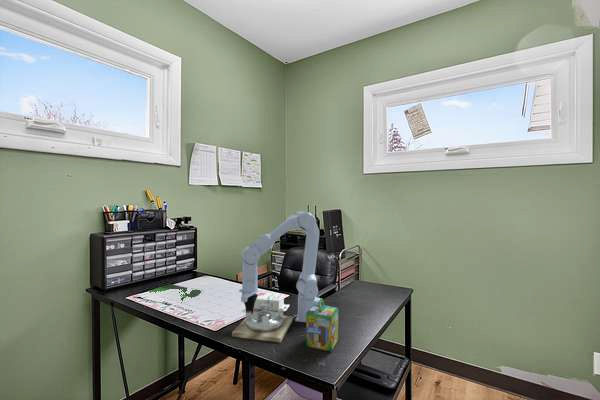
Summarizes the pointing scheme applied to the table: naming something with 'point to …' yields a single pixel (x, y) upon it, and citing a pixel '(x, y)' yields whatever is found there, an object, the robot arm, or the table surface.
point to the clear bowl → (264, 319)
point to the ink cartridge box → (270, 301)
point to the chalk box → (322, 326)
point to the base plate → (267, 336)
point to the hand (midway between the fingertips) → (249, 313)
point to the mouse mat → (171, 286)
